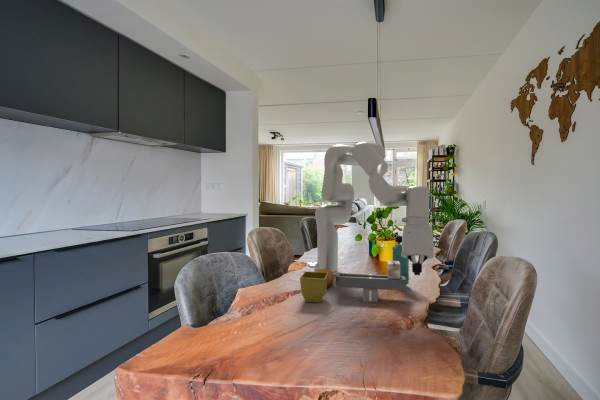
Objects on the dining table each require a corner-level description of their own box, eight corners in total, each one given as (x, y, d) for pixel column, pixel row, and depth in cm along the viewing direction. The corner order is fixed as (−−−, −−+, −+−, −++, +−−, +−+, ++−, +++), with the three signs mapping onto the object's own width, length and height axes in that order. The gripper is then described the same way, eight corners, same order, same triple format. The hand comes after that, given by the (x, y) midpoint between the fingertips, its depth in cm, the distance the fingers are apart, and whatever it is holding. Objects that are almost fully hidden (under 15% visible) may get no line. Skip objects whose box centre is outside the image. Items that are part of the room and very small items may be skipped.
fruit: (333, 279, 143) (333, 265, 138) (333, 294, 136) (333, 279, 132) (314, 279, 143) (313, 264, 139) (313, 293, 137) (312, 279, 133)
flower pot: (325, 305, 115) (325, 278, 114) (299, 303, 116) (299, 277, 116) (328, 297, 123) (328, 272, 123) (304, 296, 125) (304, 271, 125)
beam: (335, 299, 121) (335, 277, 121) (337, 292, 130) (337, 271, 130) (406, 303, 116) (406, 281, 116) (403, 295, 125) (403, 274, 125)
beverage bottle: (405, 289, 133) (406, 237, 132) (389, 286, 137) (389, 236, 136) (411, 286, 138) (411, 236, 138) (395, 283, 142) (395, 234, 142)
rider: (388, 284, 119) (388, 263, 119) (387, 279, 125) (387, 260, 124) (400, 284, 118) (400, 264, 118) (398, 280, 124) (398, 260, 124)
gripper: (396, 222, 117) (395, 276, 118) (442, 223, 114) (442, 278, 115) (394, 220, 125) (393, 271, 125) (438, 221, 122) (437, 273, 122)
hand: (416, 274), depth 120 cm, fingers closed
